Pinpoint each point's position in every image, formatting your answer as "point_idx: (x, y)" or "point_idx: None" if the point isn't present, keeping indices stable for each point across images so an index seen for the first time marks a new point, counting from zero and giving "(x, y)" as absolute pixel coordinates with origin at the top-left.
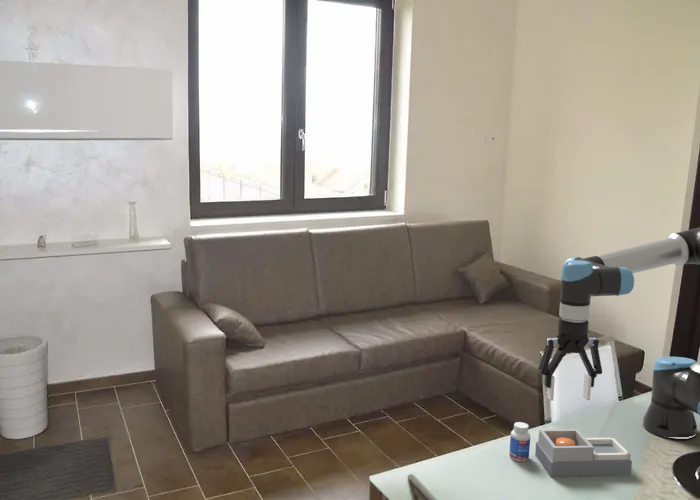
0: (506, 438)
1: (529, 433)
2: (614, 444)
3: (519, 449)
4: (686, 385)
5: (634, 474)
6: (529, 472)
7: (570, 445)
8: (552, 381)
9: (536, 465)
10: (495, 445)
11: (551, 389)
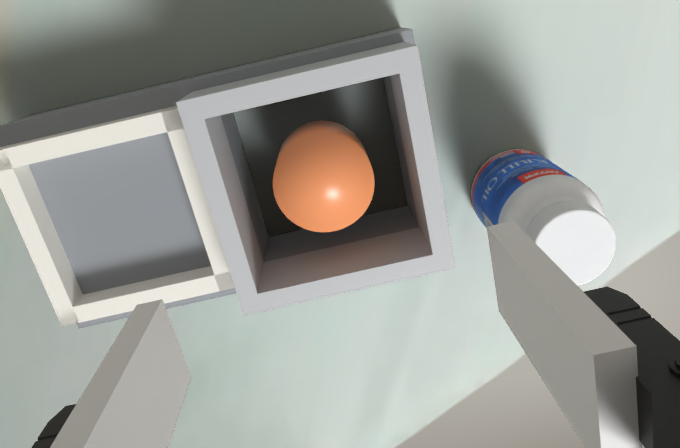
0: None
1: None
2: (64, 271)
3: (542, 162)
4: None
5: None
6: (491, 53)
7: (303, 142)
8: (597, 316)
9: (446, 128)
10: None
11: (556, 268)
